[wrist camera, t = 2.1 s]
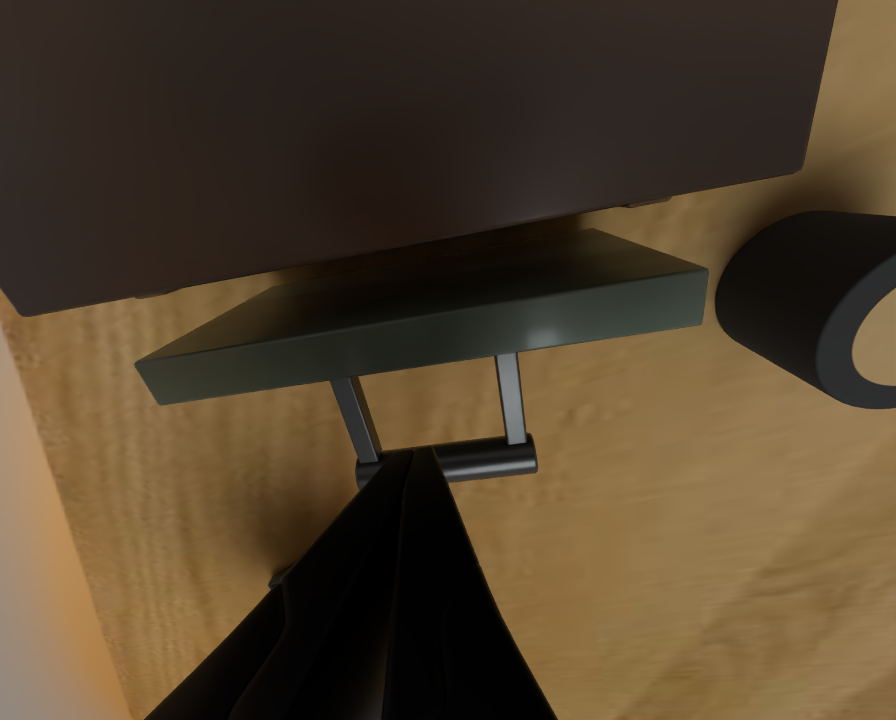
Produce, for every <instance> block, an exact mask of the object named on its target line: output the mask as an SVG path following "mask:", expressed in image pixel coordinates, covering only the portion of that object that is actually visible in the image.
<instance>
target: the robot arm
mask: <svg viewBox="0 0 896 720" xmlns="http://www.w3.org/2000/svg"><path fill="white" fill-rule="evenodd" d="M268 586H269V588H270V589H271V590H270V591H269V592H268V594H267V595H266V596H265V597H264V598H263V599H262V600H261V601H260V602H259V603H258V605H257V606H256V607H255V608H254V609H253V610H252V611H251V612H250V613H249V614H248V615H247V616H246V617H245V619H244V620H243V621H242V622H241V623H240V624H239V625H238V626H237V627H236V628H235V629H234V630H233V631H232V633H231V634H230V635H229V636H228V637H227V638H226V639H225V640H224V641H223V642H222V643H221V644H220V645H219V646H218V647H217V648H216V649H215V650H214V651H213V652H212V653H211V654H210V655H209V656H208V657H207V658H206V659H205V660H204V661H203V662H202V663H201V664H200V665H199V666H198V667H197V668H196V669H195V670H194V671H193V672H192V673H191V674H190V675H189V676H188V677H187V678H186V679H185V680H184V681H183V682H182V683H181V684H180V685H179V686H178V687H176V688H175V689H174V690H173V691H172V692H171V693H170V694H169V695H168V696H167V697H166V698H165V699H164V700H163V701H162V702H161V703H160V704H159V705H158V706H157V707H156V708H155V709H154V710H153V711H152V712H151V713H150V714H149V715H148V716H147V717H146V718H145V719H144V720H558V719H557V717H556V715H555V713H554V712H553V710H552V708H551V706H550V704H549V703H548V701H547V699H546V697H545V696H544V694H543V692H542V690H541V688H540V687H539V685H538V683H537V681H536V679H535V678H534V676H533V674H532V672H531V670H530V669H529V667H528V665H527V663H526V662H525V660H524V658H523V656H522V654H521V653H520V651H519V649H518V647H517V645H516V643H515V641H514V639H513V637H512V635H511V633H510V631H509V630H508V628H507V626H506V624H505V622H504V620H503V618H502V616H501V614H500V611H499V609H498V607H497V605H496V602H495V600H494V598H493V595H492V593H491V591H490V589H489V586H488V584H487V581H486V579H485V576H484V574H483V571H482V568H481V567H480V565H479V561H478V559H477V556H476V554H475V551H474V549H473V546H472V544H471V541H470V539H469V536H468V534H467V531H466V528H465V526H464V523H463V521H462V518H461V516H460V513H459V511H458V508H457V506H456V503H455V500H454V498H453V495H452V493H451V490H450V488H449V485H448V483H447V480H446V478H445V475H444V472H443V470H442V467H441V465H440V462H439V460H438V457H437V455H436V452H435V450H434V448H433V447H432V446H428V447H420V448H416V449H415V450H414V449H404V450H397V451H395V452H394V453H393V454H392V455H391V456H390V458H389V459H388V460H387V461H386V462H385V463H384V464H383V465H382V467H381V468H380V469H379V470H378V471H377V472H376V473H375V474H374V475H373V477H372V478H371V479H370V480H369V481H368V482H367V483H366V484H365V485H364V487H363V488H362V489H361V490H360V491H359V492H358V493H357V494H356V496H355V497H354V498H353V499H352V500H351V501H350V502H349V503H348V504H347V506H346V507H345V508H344V509H343V510H342V511H341V512H340V513H339V515H338V516H337V517H336V518H335V519H334V520H333V521H332V522H331V523H330V525H329V526H328V527H327V528H326V529H325V530H324V531H323V532H322V533H321V535H320V536H319V537H318V538H317V539H316V540H315V541H314V542H313V544H312V545H311V546H310V547H309V548H308V549H307V550H306V551H305V552H304V554H303V555H302V556H301V557H300V558H299V559H298V560H297V561H296V562H295V564H293V565H292V566H290V567H288V568H286V569H285V570H283V571H281V572H280V573H278V574H276V575H274V576H273V577H272V578H271V580H270V582H269V584H268Z"/></svg>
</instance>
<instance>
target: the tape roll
mask: <svg viewBox="0 0 896 720" xmlns="http://www.w3.org/2000/svg"><path fill="white" fill-rule="evenodd" d="M716 311H717V316H718V319H719V322H720V324H721V326H722V328H723V329H724V331H725V332H726V333H727V334H728V335H729V337H731V338H732V339H733V340H735V341H736V342H738V343H740V344H741V345H743V346H745V347H747V348H748V349H750V350H752V351H754V352H755V353H757V354H759V355H760V356H762V357H764V358H766V359H767V360H769V361H771V362H772V363H774V364H776V365H778V366H779V367H781V368H783V369H785V370H786V371H788V372H790V373H791V374H793V375H795V376H797V377H798V378H800V379H802V380H803V381H805V382H807V383H809V384H810V385H812V386H814V387H816V388H817V389H819V390H821V391H822V392H824V393H826V394H828V395H829V396H831V397H833V398H834V399H836V400H838V401H840V402H842V403H845V404H848V405H851V406H855V407H860V408H867V409H890V408H896V216H884V215H872V214H859V213H846V212H834V211H810V212H805V213H800V214H797V215H794V216H791V217H788V218H785V219H783V220H781V221H779V222H776V223H775V224H773V225H771V226H769V227H767V228H766V229H764V230H763V231H761V232H760V233H759V234H757V235H756V236H755V237H753V238H752V239H751V240H750V241H749V242H748V243H747V244H746V245H745V246H744V247H743V248H742V249H741V250H740V251H739V252H738V253H737V254H736V256H735V257H734V258H733V259H732V261H731V262H730V264H729V265H728V267H727V269H726V271H725V273H724V274H723V276H722V279H721V282H720V284H719V288H718V292H717V298H716Z"/></svg>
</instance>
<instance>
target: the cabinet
mask: <svg viewBox="0 0 896 720" xmlns="http://www.w3.org/2000/svg"><path fill="white" fill-rule="evenodd" d="M837 3H838V0H0V289H1V290H2V291H3V293H4V294H5V295H6V297H7V298H8V300H9V301H10V302H11V304H12V305H13V306H14V308H15V309H16V311H17V312H18V313H19V314H20V315H21V316H24V317H31V316H36V315H42V314H47V313H52V312H58V311H63V310H68V309H74V308H79V307H84V306H90V305H95V304H100V303H106V302H111V301H116V300H122V299H127V298H132V297H138V296H143V295H148V294H154V293H159V292H164V291H170V290H175V289H180V288H186V287H191V286H196V285H202V284H207V283H212V282H218V281H223V280H228V279H234V278H239V277H244V276H250V275H255V274H260V273H266V272H271V271H276V270H282V269H287V268H292V267H298V266H303V265H308V264H314V263H319V262H324V261H330V260H335V259H340V258H346V257H351V256H356V255H362V254H367V253H372V252H378V251H383V250H388V249H394V248H399V247H404V246H410V245H415V244H420V243H426V242H431V241H436V240H442V239H447V238H452V237H458V236H463V235H468V234H474V233H479V232H484V231H490V230H495V229H500V228H506V227H511V226H516V225H522V224H527V223H532V222H538V221H543V220H548V219H554V218H559V217H565V216H570V215H575V214H581V213H586V212H591V211H597V210H602V209H607V208H613V207H618V206H623V205H629V204H634V203H639V202H645V201H650V200H655V199H661V198H666V197H671V196H677V195H682V194H687V193H693V192H698V191H703V190H709V189H714V188H719V187H725V186H730V185H735V184H741V183H746V182H751V181H757V180H762V179H767V178H773V177H778V176H783V175H789V174H793V173H795V172H797V171H799V170H801V168H802V167H803V164H804V160H805V155H806V150H807V145H808V141H809V136H810V131H811V126H812V122H813V117H814V112H815V107H816V103H817V98H818V93H819V88H820V84H821V79H822V74H823V69H824V65H825V60H826V55H827V50H828V46H829V41H830V36H831V31H832V27H833V22H834V17H835V12H836V8H837Z"/></svg>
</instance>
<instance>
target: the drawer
mask: <svg viewBox="0 0 896 720" xmlns="http://www.w3.org/2000/svg"><path fill="white" fill-rule="evenodd" d="M671 197H672V196H671ZM671 197H666V198H661V199H655V200H650V201H645V202H639V203H634V204H629V205H623V206H619V207H626V208H633V207H638V206H644V205H649V204H654V203H660V202H665V201H668V200H670V199H671ZM708 275H709V271H708V269H707V268H705V267H703V266H700V265H697V264H694V263H691V262H688V261H685V260H683V259H680V258H677V257H674V256H671V255H668V254H665V253H663V252H660V251H657V250H654V249H651V248H648V247H645V246H643V245H640V244H637V243H634V242H631V241H628V240H625V239H623V238H620V237H617V236H614V235H611V234H608V233H605V232H603V231H600V230H597V229H594V228H591V229H586V230H580V231H575V232H569V233H564V234H558V235H553V236H547V237H542V238H536V239H531V240H525V241H520V242H514V243H509V244H503V245H498V246H492V247H487V248H481V249H476V250H470V251H465V252H459V253H454V254H448V255H443V256H437V257H432V258H427V259H421V260H416V261H410V262H405V263H399V264H394V265H388V266H383V267H377V268H372V269H366V270H361V271H355V272H350V273H344V274H339V275H333V276H328V277H322V278H317V279H311V280H306V281H300V282H295V283H289V284H284V285H279V286H273V287H271V288H269V289H267V290H265V291H264V292H262V293H260V294H258V295H256V296H255V297H253V298H251V299H249V300H247V301H245V302H244V303H242V304H240V305H238V306H236V307H235V308H233V309H231V310H229V311H227V312H225V313H224V314H222V315H220V316H218V317H216V318H215V319H213V320H211V321H209V322H207V323H206V324H204V325H202V326H200V327H198V328H196V329H195V330H193V331H191V332H189V333H187V334H186V335H184V336H182V337H180V338H178V339H176V340H175V341H173V342H171V343H169V344H167V345H166V346H164V347H162V348H160V349H158V350H157V351H155V352H153V353H151V354H149V355H147V356H146V357H144V358H142V359H140V360H138V361H137V362H135V364H134V365H135V368H136V369H137V371H138V372H139V374H140V376H141V377H142V379H143V381H144V382H145V384H146V385H147V387H148V389H149V390H150V392H151V393H152V395H153V397H154V398H155V400H156V401H157V403H158V404H159V405H168V404H175V403H181V402H188V401H195V400H202V399H208V398H215V397H222V396H228V395H235V394H242V393H248V392H255V391H262V390H269V389H275V388H282V387H289V386H295V385H302V384H309V383H315V382H322V381H329V380H330V383H331V386H332V388H333V391H334V394H335V396H336V399H337V402H338V404H339V407H340V410H341V413H342V415H343V418H344V421H345V423H346V426H347V429H348V432H349V434H350V437H351V440H352V442H353V445H354V448H355V450H356V453H357V456H358V458H357V462H356V469H355V474H356V482H357V485H358V488H359V489H360V490H361V489H362V488H363V487H364V485H365V484H366V483H367V482H368V481H369V480H370V479H371V478H372V477H373V475H374V474H375V473H376V472H377V471H378V470H379V469H380V468H381V467H382V465H383V464H384V463H385V462H386V461H387V460H388V459H389V458H390V456H391V455H392V454H393V453H394V452H395V451H397V450H404V449H414V450H415V449H416V448H420V447H428V446H432V447H433V448H434V450H435V452H436V455H437V457H438V460H439V462H440V465H441V467H442V470H443V472H444V475H445V478H446V480H447V483H452V482H461V481H470V480H479V479H488V478H497V477H506V476H515V475H523V474H532V473H536V472H537V471H538V462H537V455H536V449H535V444H534V440H533V437H532V435H531V433H526V425H525V416H524V407H523V398H522V389H521V380H520V371H519V362H518V353H517V352H523V351H530V350H537V349H543V348H550V347H557V346H563V345H570V344H577V343H583V342H590V341H597V340H604V339H610V338H617V337H624V336H630V335H637V334H644V333H650V332H657V331H664V330H671V329H677V328H684V327H691V326H697V325H701V324H702V322H703V315H704V307H705V299H706V291H707V283H708ZM180 289H182V288H180ZM176 290H179V289H175V290H170V291H164V292H159V293H154V294H148V295H143V296H138V297H135V298H136V299H144V298H149V297H155V296H160V295H165V294H169V293H171V292H174V291H176ZM490 356H494V360H495V367H496V374H497V381H498V388H499V395H500V402H501V409H502V416H503V423H504V430H505V436H498V437H490V438H482V439H474V440H466V441H458V442H450V443H442V444H434V445H426V446H418V447H410V448H402V449H394V450H386V451H382V448H381V445H380V441H379V438H378V435H377V432H376V429H375V426H374V423H373V420H372V417H371V414H370V411H369V408H368V405H367V402H366V399H365V396H364V393H363V390H362V387H361V384H360V381H359V378H358V376H362V375H369V374H376V373H382V372H389V371H396V370H403V369H409V368H416V367H423V366H429V365H436V364H443V363H449V362H456V361H463V360H470V359H476V358H483V357H490Z"/></svg>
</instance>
